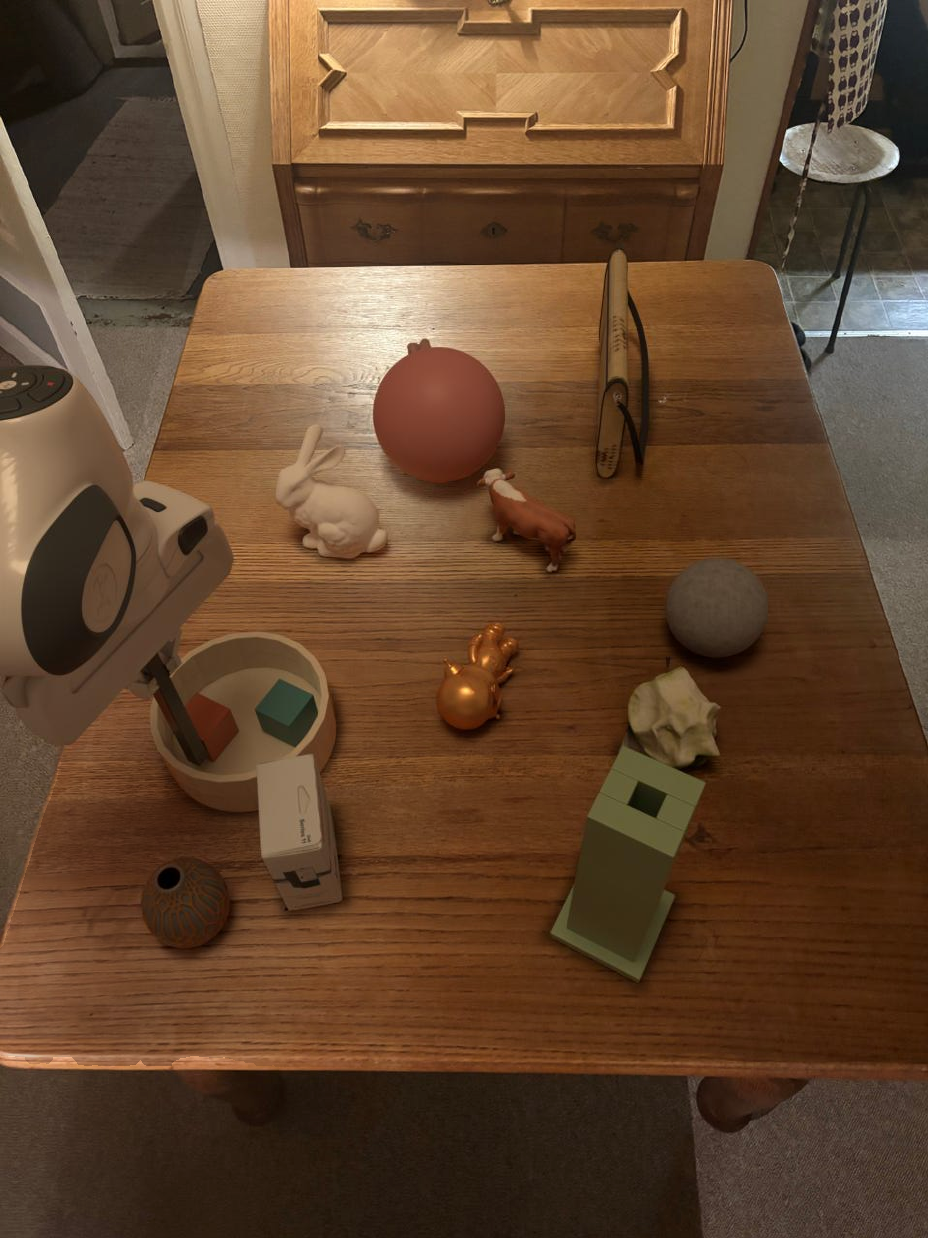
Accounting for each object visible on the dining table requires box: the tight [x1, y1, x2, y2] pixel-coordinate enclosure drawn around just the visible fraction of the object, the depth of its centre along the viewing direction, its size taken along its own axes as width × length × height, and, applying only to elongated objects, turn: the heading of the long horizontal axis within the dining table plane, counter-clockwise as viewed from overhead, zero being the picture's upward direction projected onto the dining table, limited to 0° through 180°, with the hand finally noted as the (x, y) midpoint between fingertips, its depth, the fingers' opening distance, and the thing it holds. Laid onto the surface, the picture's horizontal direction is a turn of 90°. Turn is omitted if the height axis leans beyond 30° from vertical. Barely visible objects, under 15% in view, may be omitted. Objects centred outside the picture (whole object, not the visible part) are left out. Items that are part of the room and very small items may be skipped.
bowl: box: [149, 631, 337, 813], centre depth 87 cm, size 16×17×6 cm
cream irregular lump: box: [618, 656, 722, 770], centre depth 86 cm, size 9×9×8 cm
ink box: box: [257, 754, 343, 912], centre depth 77 cm, size 9×5×12 cm, turn 10°
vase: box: [140, 856, 231, 949], centre depth 75 cm, size 7×7×9 cm
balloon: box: [372, 338, 506, 483], centre depth 108 cm, size 15×20×15 cm
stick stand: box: [549, 746, 707, 984], centre depth 69 cm, size 8×8×22 cm
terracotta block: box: [185, 693, 239, 762], centre depth 87 cm, size 4×4×4 cm
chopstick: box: [141, 652, 208, 766], centre depth 78 cm, size 1×1×18 cm
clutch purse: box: [595, 246, 650, 479], centre depth 112 cm, size 30×7×15 cm, turn 174°
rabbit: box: [274, 423, 389, 559], centre depth 101 cm, size 12×9×12 cm
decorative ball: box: [664, 557, 770, 659], centre depth 91 cm, size 10×10×10 cm
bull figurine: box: [476, 468, 577, 573], centre depth 101 cm, size 4×13×8 cm, turn 46°
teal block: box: [255, 679, 318, 747], centre depth 88 cm, size 4×4×4 cm
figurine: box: [435, 621, 520, 730], centre depth 90 cm, size 8×6×12 cm
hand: (158, 679), depth 75 cm, fingers closed on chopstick, 1 cm apart
